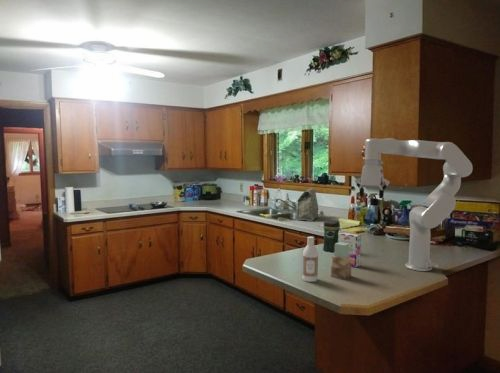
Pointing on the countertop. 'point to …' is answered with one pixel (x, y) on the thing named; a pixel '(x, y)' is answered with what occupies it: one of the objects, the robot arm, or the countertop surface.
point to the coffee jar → (330, 234)
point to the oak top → (340, 262)
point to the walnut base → (341, 273)
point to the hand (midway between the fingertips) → (371, 197)
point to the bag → (307, 206)
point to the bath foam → (310, 262)
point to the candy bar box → (352, 247)
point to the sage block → (341, 250)
